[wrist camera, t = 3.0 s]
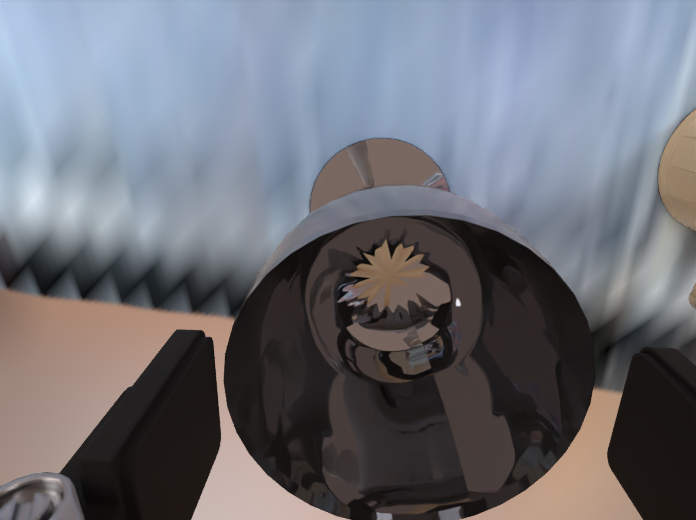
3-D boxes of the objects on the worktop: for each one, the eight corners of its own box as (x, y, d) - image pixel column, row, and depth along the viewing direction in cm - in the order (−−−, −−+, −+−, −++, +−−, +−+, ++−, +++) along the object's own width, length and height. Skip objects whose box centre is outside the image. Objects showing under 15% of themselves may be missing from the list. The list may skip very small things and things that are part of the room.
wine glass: (482, 243, 25) (640, 461, 11) (345, 304, 26) (328, 565, 12) (420, 98, 22) (521, 137, 8) (273, 174, 24) (148, 316, 10)
